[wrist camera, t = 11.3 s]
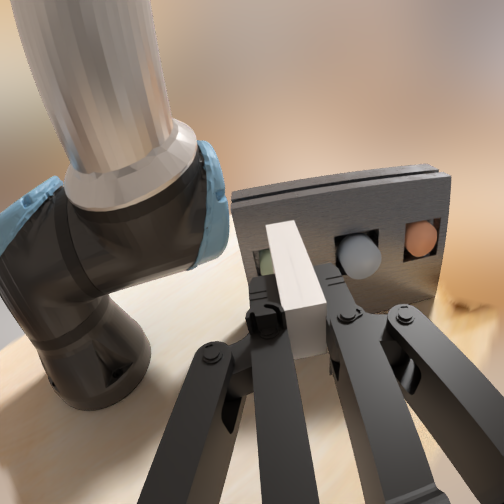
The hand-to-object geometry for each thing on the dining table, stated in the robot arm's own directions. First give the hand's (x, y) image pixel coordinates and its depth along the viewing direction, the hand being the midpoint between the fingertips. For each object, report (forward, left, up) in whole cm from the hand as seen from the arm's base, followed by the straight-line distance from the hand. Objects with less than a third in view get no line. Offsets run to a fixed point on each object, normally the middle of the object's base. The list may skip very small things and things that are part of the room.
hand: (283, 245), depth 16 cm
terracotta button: (+18, +9, -11) cm, 23 cm away
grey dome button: (+10, +9, -11) cm, 17 cm away
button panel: (+10, +12, -18) cm, 24 cm away
